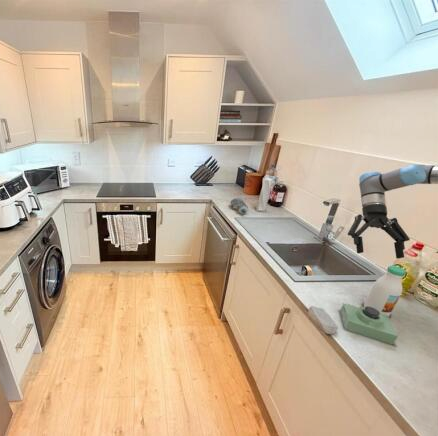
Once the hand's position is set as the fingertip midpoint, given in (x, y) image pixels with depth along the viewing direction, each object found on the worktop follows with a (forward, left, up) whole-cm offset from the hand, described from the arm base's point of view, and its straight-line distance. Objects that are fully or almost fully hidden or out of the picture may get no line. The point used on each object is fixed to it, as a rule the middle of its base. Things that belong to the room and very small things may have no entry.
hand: (379, 255), depth 94 cm
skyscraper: (+48, -88, -20) cm, 102 cm away
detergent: (+63, -78, -20) cm, 102 cm away
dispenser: (+4, +21, -20) cm, 29 cm away
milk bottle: (-2, +9, -20) cm, 22 cm away
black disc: (+4, +21, -14) cm, 26 cm away
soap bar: (+18, +27, -20) cm, 38 cm away
